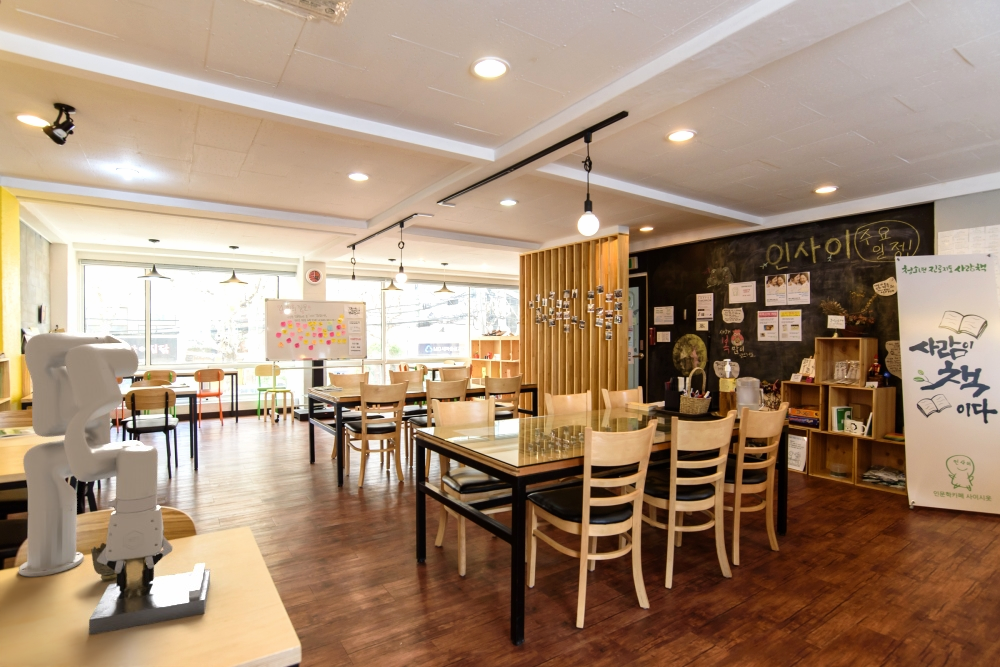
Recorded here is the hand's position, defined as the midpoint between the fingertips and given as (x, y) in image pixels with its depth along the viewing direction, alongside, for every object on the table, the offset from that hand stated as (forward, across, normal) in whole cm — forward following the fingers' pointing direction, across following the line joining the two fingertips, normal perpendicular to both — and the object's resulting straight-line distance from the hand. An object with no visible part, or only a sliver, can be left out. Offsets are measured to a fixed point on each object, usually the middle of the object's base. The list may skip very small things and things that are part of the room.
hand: (135, 585), depth 117 cm
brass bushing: (+3, 0, 0) cm, 3 cm away
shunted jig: (+4, +4, -2) cm, 6 cm away
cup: (+4, -8, +17) cm, 19 cm away
